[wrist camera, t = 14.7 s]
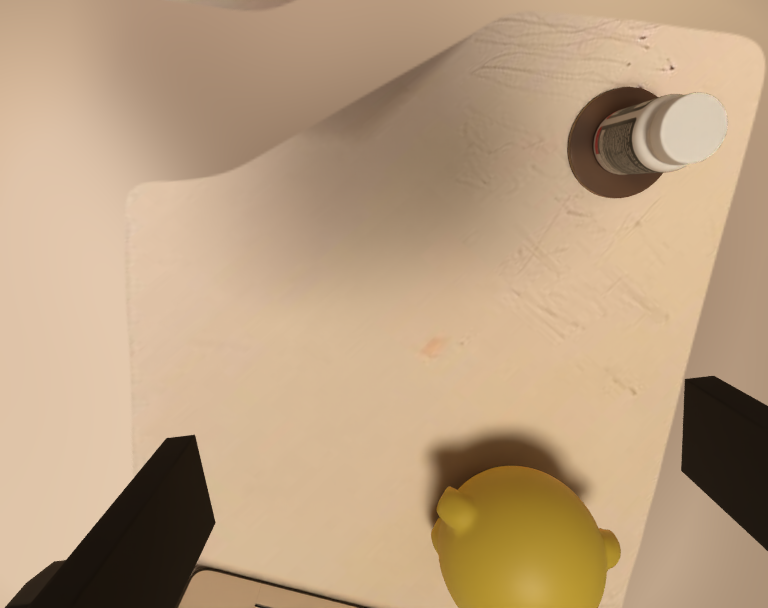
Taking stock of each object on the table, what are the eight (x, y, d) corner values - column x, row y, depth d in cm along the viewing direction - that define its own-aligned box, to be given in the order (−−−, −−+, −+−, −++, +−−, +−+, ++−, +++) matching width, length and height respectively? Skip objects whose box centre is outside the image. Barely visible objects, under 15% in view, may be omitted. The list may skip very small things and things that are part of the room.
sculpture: (394, 573, 43) (424, 661, 30) (430, 434, 45) (473, 459, 32) (549, 612, 44) (643, 714, 31) (577, 475, 46) (676, 516, 33)
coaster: (566, 95, 36) (568, 93, 35) (673, 82, 36) (677, 80, 35) (568, 203, 38) (571, 203, 37) (670, 191, 38) (674, 191, 37)
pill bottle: (627, 187, 37) (698, 187, 29) (579, 152, 36) (638, 143, 28) (667, 132, 36) (752, 116, 28) (618, 95, 35) (691, 69, 27)
